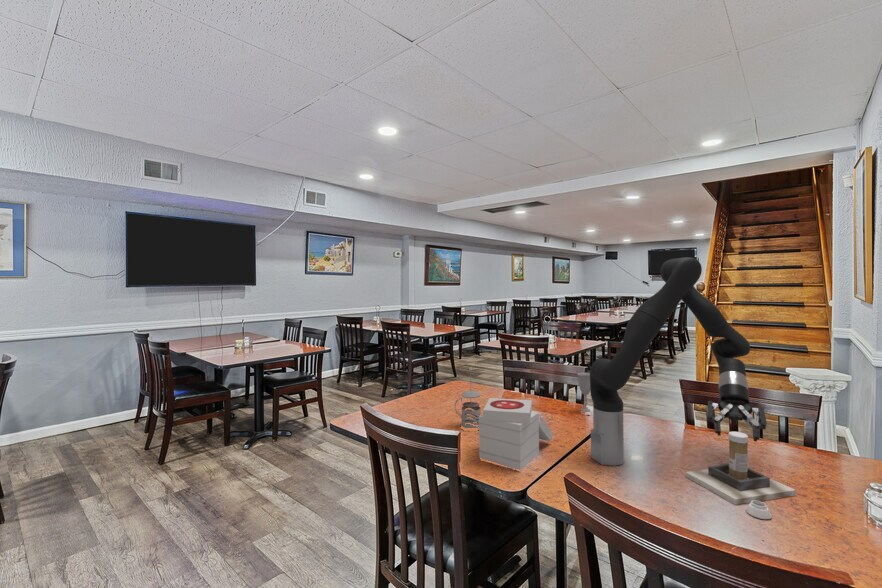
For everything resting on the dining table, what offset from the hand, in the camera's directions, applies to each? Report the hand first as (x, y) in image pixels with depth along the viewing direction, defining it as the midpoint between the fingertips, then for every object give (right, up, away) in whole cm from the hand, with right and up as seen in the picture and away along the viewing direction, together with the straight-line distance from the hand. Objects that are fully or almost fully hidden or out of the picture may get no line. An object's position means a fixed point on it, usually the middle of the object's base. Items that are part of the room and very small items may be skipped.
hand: (737, 437), depth 117 cm
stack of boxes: (-60, -14, +23) cm, 66 cm away
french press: (-75, -14, +48) cm, 90 cm away
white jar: (-7, -14, -16) cm, 22 cm away
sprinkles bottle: (-1, -12, -2) cm, 12 cm away
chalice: (-21, -13, +64) cm, 69 cm away
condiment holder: (-1, -13, -2) cm, 13 cm away
